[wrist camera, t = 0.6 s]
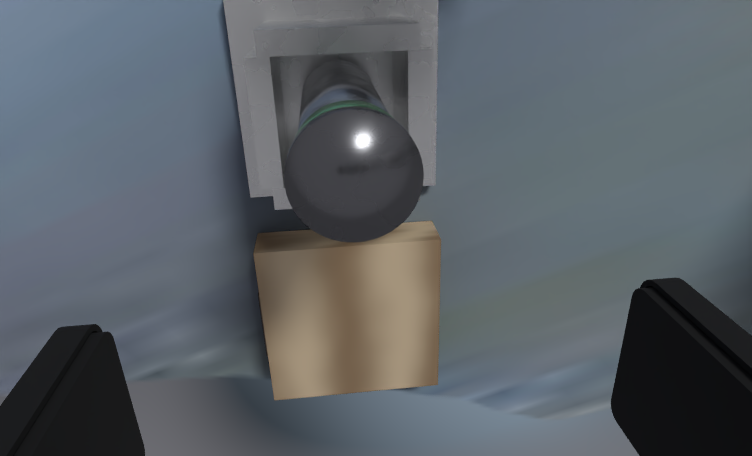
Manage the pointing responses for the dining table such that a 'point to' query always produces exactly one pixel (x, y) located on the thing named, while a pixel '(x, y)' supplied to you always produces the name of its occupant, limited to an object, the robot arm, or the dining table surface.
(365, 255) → the tan flat square block
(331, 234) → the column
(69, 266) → the dining table surface
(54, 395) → the robot arm
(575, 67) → the dining table surface
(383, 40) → the stand base
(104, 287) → the dining table surface
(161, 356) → the dining table surface
